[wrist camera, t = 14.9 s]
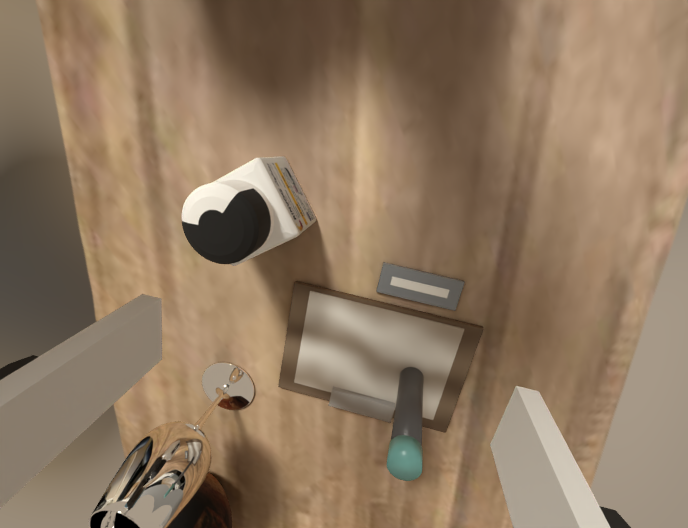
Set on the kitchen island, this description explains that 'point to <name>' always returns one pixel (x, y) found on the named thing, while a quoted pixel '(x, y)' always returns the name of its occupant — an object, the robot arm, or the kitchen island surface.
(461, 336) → the clipboard
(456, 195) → the kitchen island surface
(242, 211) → the container
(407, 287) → the plate
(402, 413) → the marker
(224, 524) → the ceramic vessel
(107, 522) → the wineglass
